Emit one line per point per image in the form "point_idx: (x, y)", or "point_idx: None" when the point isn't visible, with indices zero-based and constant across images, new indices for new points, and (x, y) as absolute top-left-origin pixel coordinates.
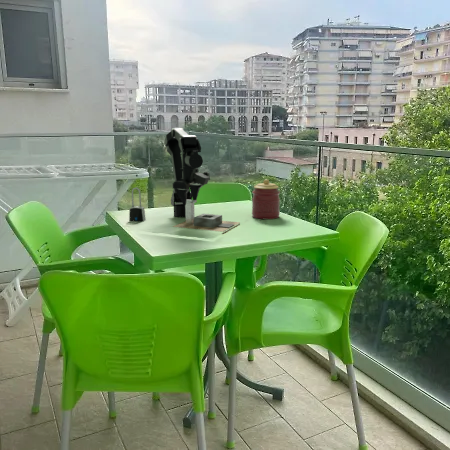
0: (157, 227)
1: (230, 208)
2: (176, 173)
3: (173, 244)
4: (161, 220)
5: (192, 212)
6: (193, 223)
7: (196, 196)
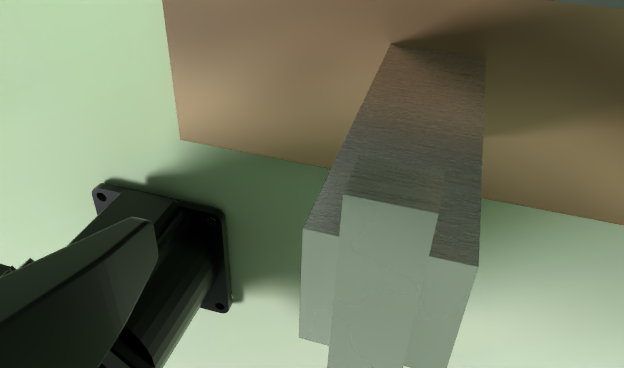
0: (611, 355)
1: None
2: None
3: None
4: (316, 361)
5: (436, 125)
6: (464, 35)
7: (70, 282)
